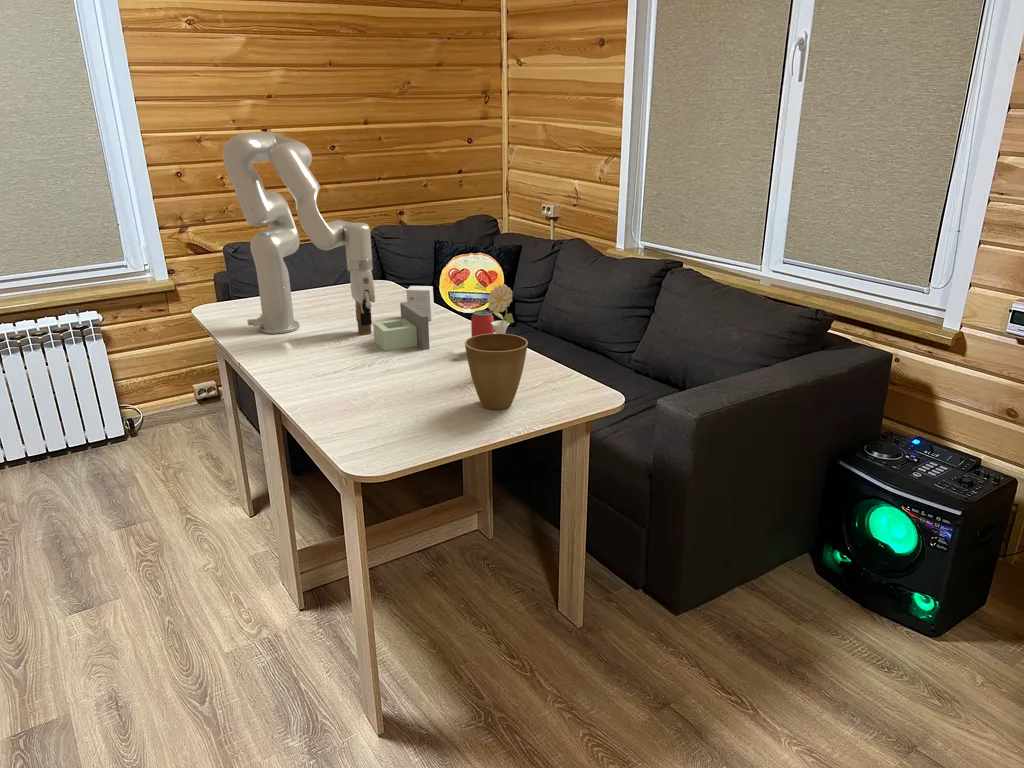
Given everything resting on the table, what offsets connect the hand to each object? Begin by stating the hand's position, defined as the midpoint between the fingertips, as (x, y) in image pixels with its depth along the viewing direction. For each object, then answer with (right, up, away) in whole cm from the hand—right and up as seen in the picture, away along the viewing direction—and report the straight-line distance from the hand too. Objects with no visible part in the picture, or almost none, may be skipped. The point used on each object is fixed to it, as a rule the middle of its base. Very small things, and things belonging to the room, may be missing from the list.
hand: (364, 322), depth 232 cm
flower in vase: (+43, -16, -29) cm, 54 cm away
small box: (+15, +3, +21) cm, 26 cm away
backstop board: (+8, -9, -10) cm, 16 cm away
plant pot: (+42, -24, -49) cm, 69 cm away
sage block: (+11, -7, -9) cm, 16 cm away
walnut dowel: (0, -4, +2) cm, 4 cm away
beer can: (+37, -10, -13) cm, 41 cm away
